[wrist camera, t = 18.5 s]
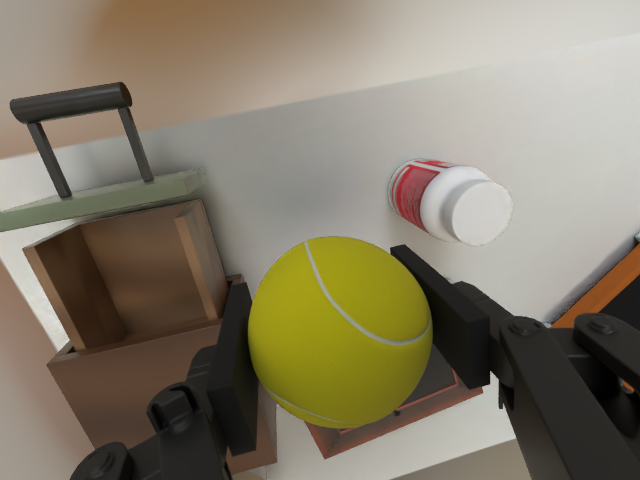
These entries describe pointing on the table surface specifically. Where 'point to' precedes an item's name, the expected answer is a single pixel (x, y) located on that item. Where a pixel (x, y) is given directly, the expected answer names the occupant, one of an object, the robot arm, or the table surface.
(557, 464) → the robot arm
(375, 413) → the tennis ball
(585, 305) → the alarm clock
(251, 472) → the coffee cup
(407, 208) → the pill bottle
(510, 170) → the table surface
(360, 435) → the picture frame
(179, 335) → the cabinet
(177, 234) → the drawer
